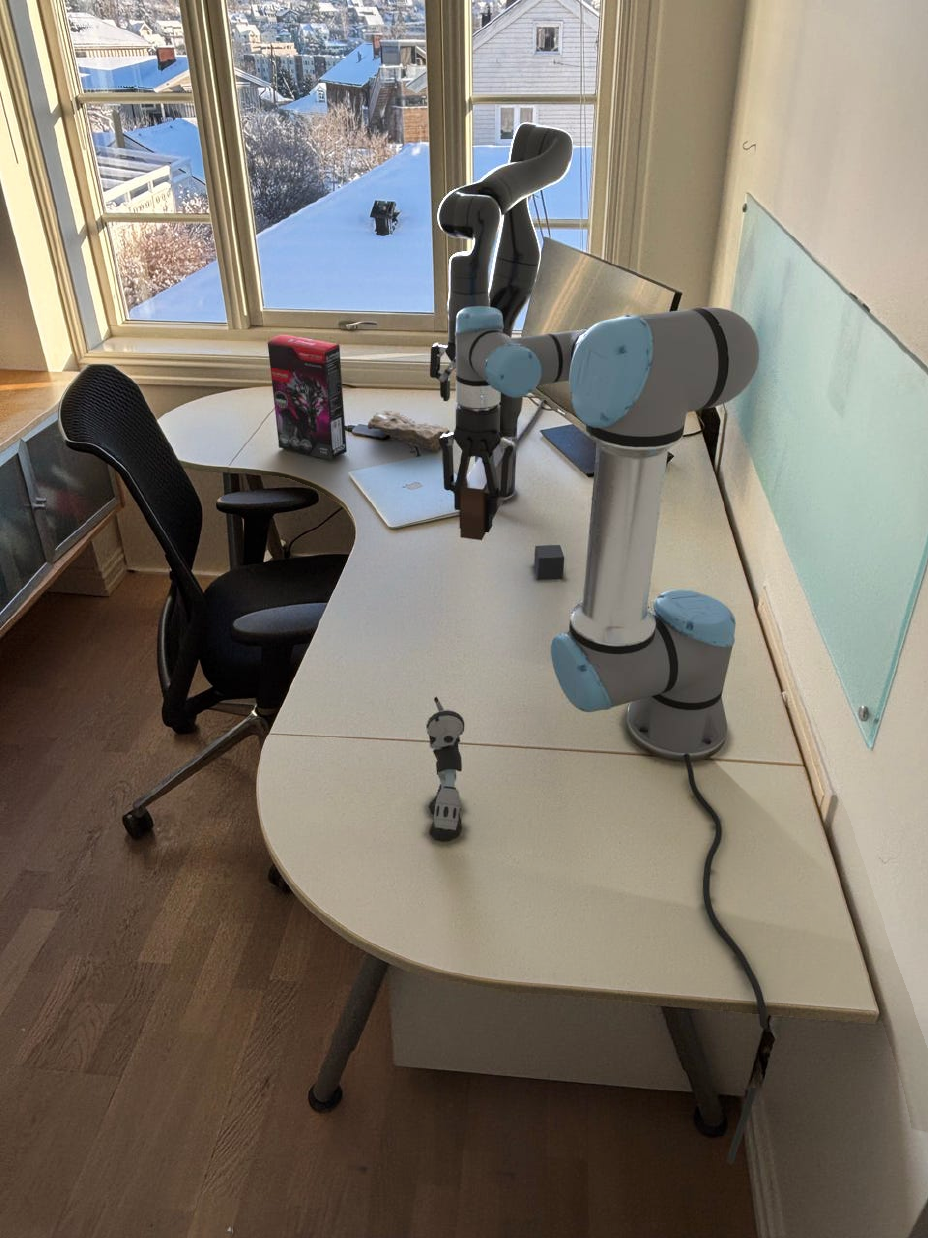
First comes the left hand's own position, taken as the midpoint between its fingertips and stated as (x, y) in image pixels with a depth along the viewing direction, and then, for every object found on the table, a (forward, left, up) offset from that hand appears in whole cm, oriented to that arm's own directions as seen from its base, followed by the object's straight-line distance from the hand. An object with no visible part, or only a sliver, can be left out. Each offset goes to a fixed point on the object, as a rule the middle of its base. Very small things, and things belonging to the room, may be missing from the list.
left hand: (468, 402), depth 174 cm
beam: (+9, +6, -17) cm, 21 cm away
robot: (+76, +17, -31) cm, 83 cm away
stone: (-49, -30, -31) cm, 65 cm away
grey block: (+6, +18, -31) cm, 37 cm away
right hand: (+18, +6, -16) cm, 25 cm away
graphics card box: (-36, -50, -31) cm, 68 cm away
